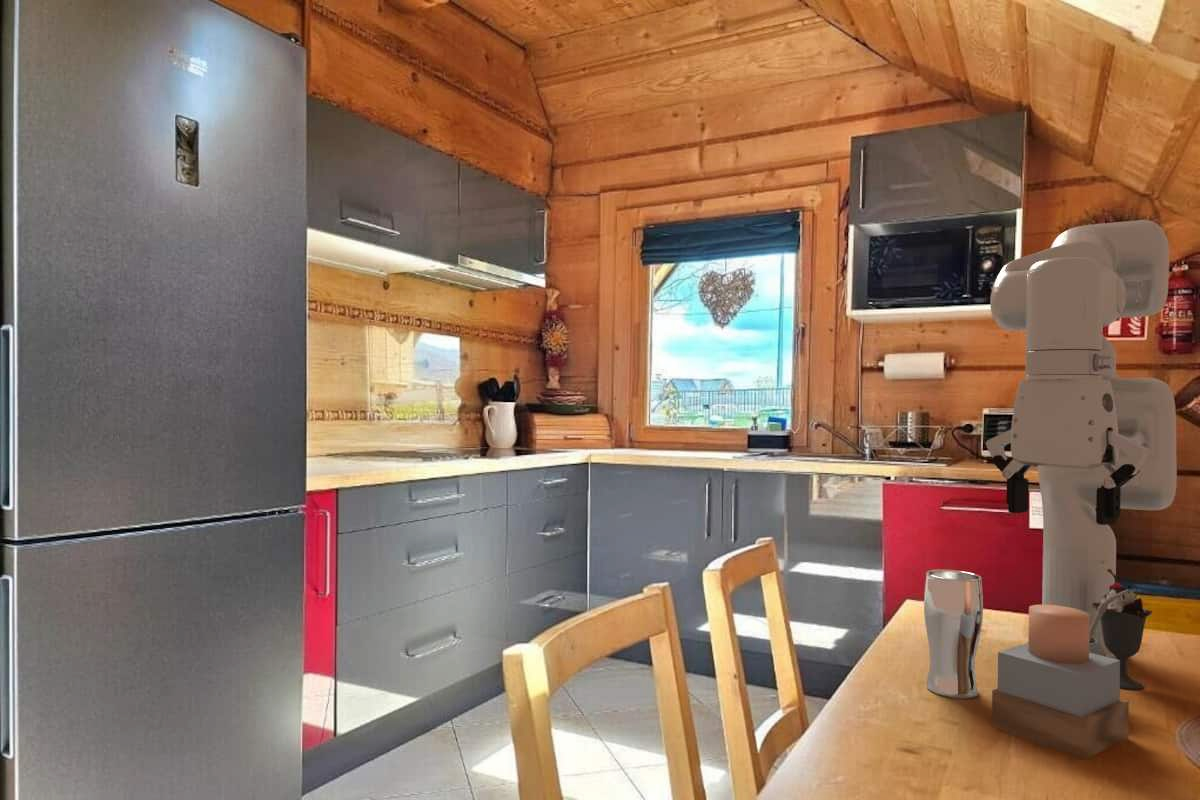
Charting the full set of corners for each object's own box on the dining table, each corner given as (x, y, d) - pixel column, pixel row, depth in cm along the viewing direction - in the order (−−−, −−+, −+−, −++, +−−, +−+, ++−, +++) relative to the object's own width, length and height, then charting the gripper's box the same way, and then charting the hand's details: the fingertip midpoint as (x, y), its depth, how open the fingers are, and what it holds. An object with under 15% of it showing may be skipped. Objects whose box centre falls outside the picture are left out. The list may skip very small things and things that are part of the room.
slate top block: (1037, 676, 96) (1037, 639, 96) (1119, 700, 88) (1119, 660, 88) (997, 691, 91) (998, 651, 91) (1081, 717, 83) (1081, 674, 83)
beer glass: (988, 702, 98) (990, 582, 98) (928, 697, 100) (930, 578, 100) (973, 683, 105) (975, 570, 105) (918, 678, 106) (919, 567, 106)
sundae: (1095, 671, 111) (1096, 564, 111) (1153, 682, 106) (1155, 571, 106) (1087, 683, 106) (1089, 571, 106) (1148, 696, 101) (1150, 579, 101)
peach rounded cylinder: (1044, 644, 94) (1045, 602, 94) (1099, 658, 89) (1100, 614, 89) (1017, 652, 91) (1018, 608, 91) (1072, 667, 86) (1073, 621, 86)
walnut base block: (1037, 711, 96) (1037, 674, 97) (1128, 741, 88) (1128, 701, 88) (991, 729, 91) (992, 690, 91) (1083, 763, 83) (1084, 720, 83)
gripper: (1164, 367, 85) (1161, 526, 85) (1006, 370, 99) (1004, 506, 99) (1131, 364, 81) (1129, 531, 81) (972, 368, 95) (970, 510, 95)
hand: (1060, 517), depth 90 cm, fingers open, 9 cm apart
